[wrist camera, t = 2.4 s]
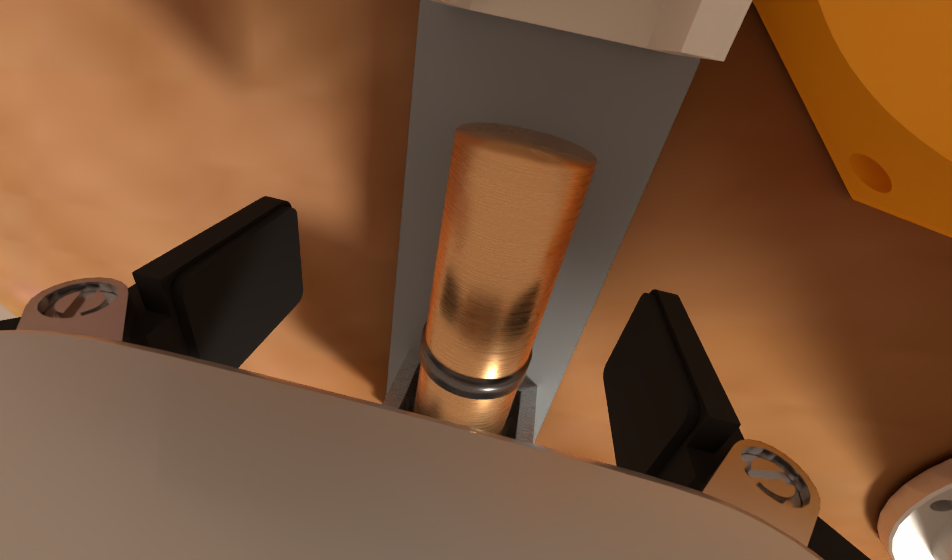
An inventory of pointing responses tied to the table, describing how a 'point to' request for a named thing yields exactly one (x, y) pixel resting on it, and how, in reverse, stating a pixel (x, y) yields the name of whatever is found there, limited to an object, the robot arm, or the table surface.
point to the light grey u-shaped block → (632, 21)
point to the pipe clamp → (876, 96)
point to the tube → (496, 267)
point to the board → (541, 109)
